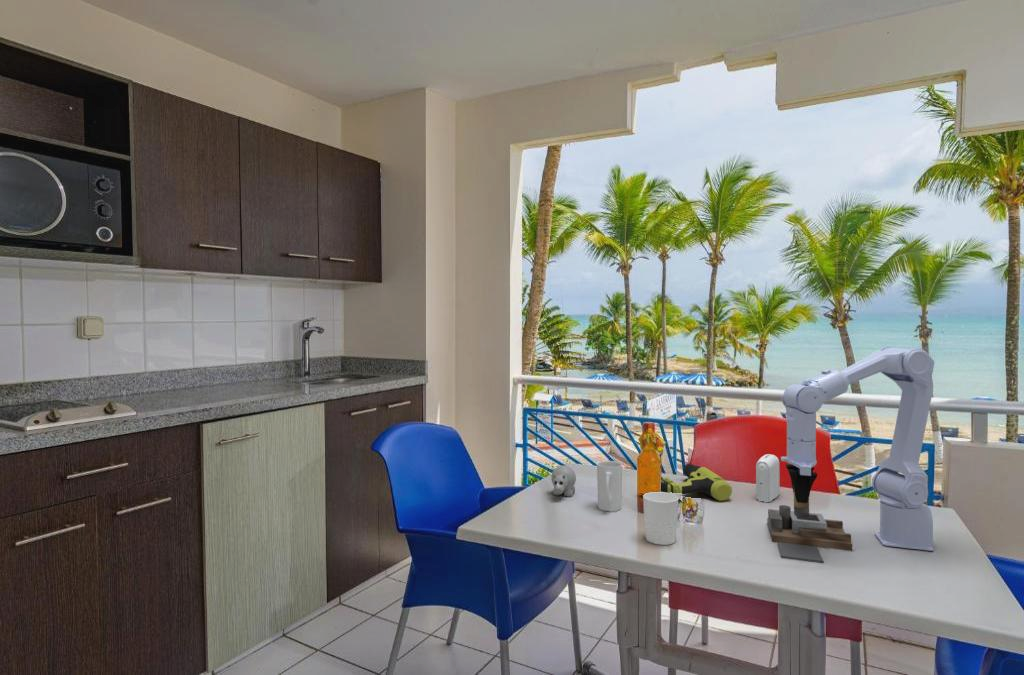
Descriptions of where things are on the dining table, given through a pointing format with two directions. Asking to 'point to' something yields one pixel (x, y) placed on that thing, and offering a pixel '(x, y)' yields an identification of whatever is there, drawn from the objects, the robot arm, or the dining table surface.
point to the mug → (609, 485)
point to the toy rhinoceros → (563, 481)
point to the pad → (799, 552)
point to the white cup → (660, 517)
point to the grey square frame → (807, 522)
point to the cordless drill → (699, 483)
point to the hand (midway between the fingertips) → (800, 500)
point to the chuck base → (806, 532)
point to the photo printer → (767, 478)
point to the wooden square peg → (801, 508)
